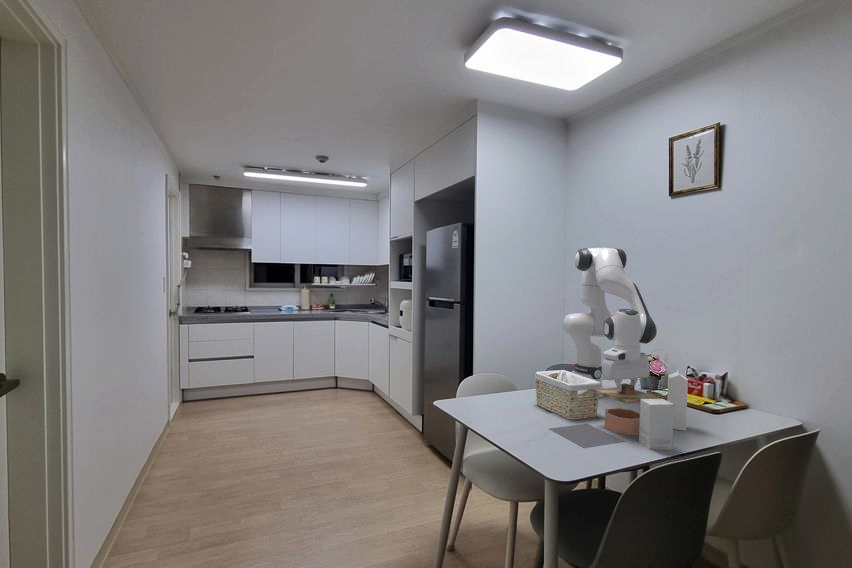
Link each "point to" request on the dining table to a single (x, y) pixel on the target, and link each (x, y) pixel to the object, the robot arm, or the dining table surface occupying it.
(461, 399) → the dining table surface
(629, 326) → the robot arm
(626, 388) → the oak lid
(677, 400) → the milk
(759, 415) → the dining table surface
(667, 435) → the skincare box
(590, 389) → the storage basket
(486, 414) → the dining table surface
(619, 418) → the terracotta bowl
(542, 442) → the dining table surface
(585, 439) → the rubber mat
